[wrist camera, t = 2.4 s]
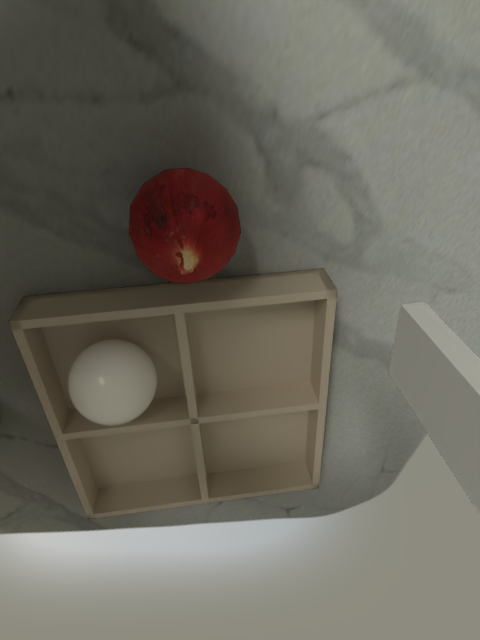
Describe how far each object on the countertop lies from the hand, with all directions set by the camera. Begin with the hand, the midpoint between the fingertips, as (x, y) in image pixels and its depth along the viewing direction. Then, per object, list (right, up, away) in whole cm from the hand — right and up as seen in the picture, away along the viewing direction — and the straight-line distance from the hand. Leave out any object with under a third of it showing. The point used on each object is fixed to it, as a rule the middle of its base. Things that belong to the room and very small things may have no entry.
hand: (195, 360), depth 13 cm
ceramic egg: (-7, -1, +17) cm, 19 cm away
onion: (-2, +8, +13) cm, 15 cm away
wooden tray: (-2, -5, +20) cm, 21 cm away
